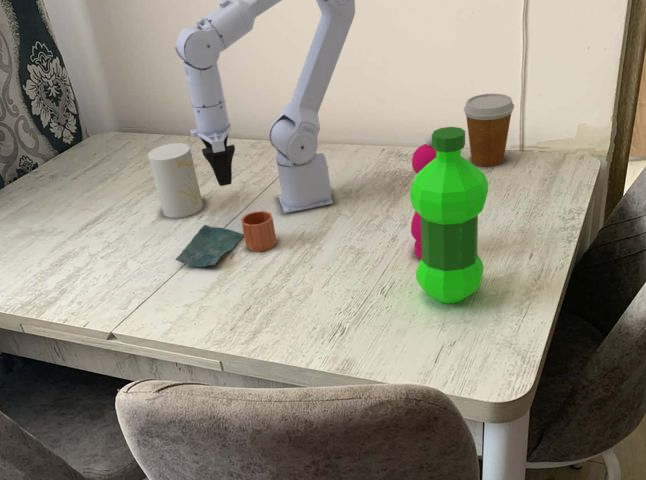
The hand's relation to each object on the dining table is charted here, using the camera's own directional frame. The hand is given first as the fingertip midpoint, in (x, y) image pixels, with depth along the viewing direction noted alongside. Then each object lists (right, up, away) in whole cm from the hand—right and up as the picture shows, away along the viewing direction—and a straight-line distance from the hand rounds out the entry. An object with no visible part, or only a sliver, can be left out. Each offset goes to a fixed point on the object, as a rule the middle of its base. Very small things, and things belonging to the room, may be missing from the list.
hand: (223, 176), depth 133 cm
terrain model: (-2, -14, -3) cm, 15 cm away
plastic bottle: (+37, -24, -23) cm, 50 cm away
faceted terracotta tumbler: (+7, -13, -3) cm, 15 cm away
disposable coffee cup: (+52, +6, +14) cm, 54 cm away
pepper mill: (+36, -16, -13) cm, 42 cm away
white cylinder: (-10, -3, +14) cm, 17 cm away
